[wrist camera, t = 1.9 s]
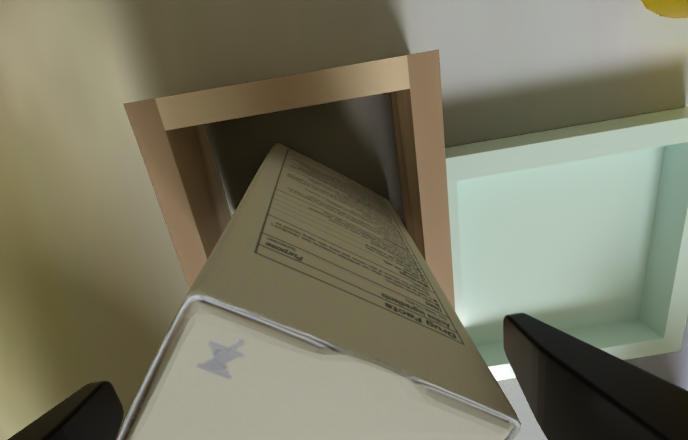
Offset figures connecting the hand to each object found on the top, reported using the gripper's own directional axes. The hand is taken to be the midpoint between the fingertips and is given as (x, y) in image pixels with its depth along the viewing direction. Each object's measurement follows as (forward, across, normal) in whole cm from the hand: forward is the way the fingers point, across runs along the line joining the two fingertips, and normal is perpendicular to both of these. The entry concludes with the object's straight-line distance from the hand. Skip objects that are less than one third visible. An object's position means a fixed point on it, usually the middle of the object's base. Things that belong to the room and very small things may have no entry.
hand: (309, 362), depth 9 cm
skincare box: (+10, 0, 0) cm, 10 cm away
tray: (+10, -11, +4) cm, 15 cm away
